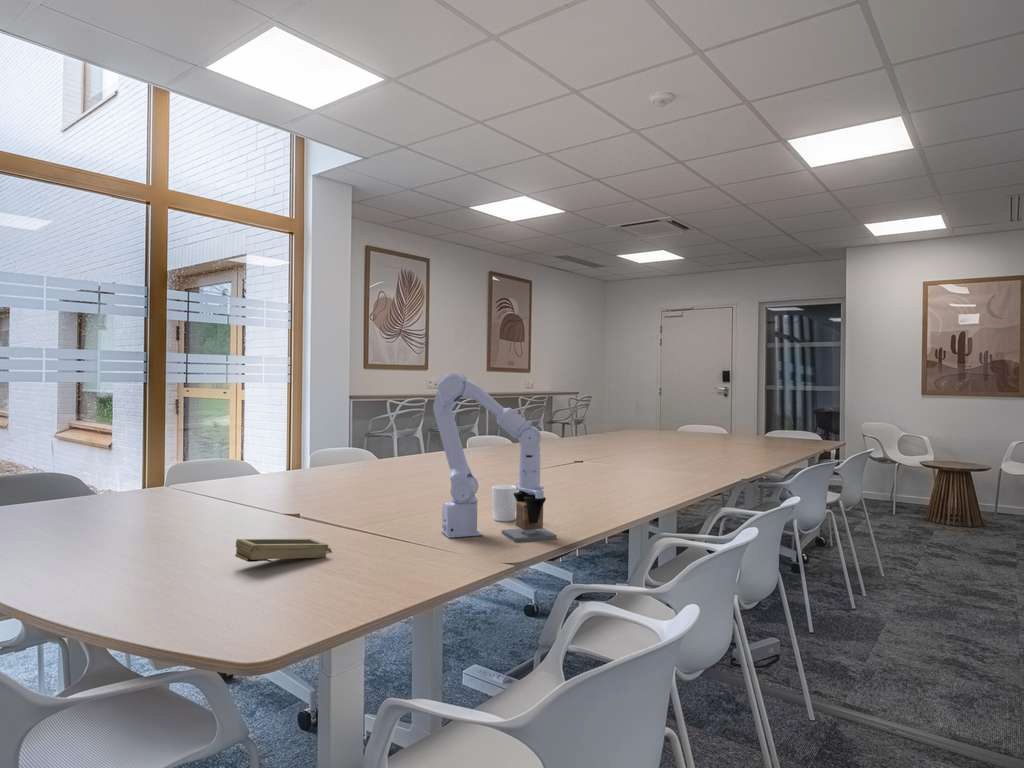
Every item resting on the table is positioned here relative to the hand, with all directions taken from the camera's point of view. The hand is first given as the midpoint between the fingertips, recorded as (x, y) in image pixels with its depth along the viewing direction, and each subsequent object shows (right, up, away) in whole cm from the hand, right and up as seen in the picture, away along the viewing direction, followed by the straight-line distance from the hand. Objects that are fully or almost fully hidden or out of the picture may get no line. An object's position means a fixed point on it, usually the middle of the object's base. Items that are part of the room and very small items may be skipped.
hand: (529, 520), depth 169 cm
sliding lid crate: (0, -2, 0) cm, 2 cm away
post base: (0, -4, 0) cm, 4 cm away
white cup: (-7, -4, +21) cm, 22 cm away
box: (-56, -4, -26) cm, 62 cm away
